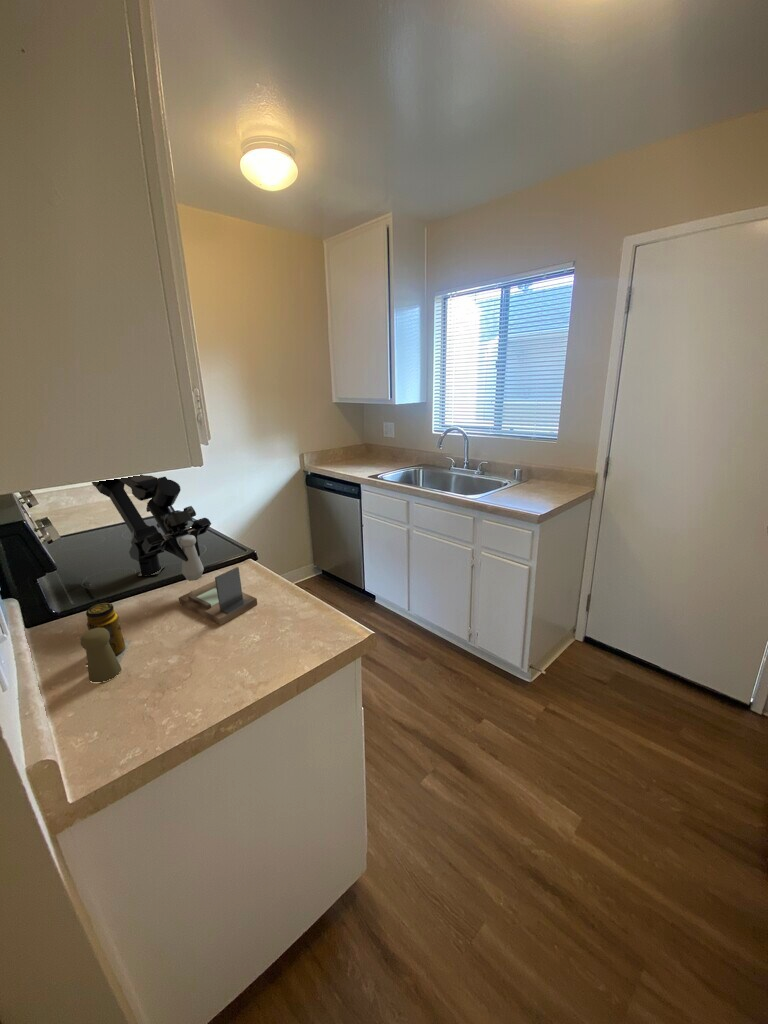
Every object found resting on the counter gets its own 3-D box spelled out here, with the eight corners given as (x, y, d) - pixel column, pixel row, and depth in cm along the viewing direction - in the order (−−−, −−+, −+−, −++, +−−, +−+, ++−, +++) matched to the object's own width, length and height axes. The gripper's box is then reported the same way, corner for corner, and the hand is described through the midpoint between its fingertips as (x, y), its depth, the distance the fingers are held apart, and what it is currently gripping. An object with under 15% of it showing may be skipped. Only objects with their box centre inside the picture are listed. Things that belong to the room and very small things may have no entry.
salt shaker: (202, 581, 119) (195, 539, 114) (181, 583, 118) (173, 541, 113) (206, 571, 124) (199, 531, 120) (186, 573, 123) (178, 533, 119)
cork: (86, 673, 91) (73, 631, 87) (117, 660, 95) (106, 620, 91) (92, 688, 87) (79, 644, 83) (124, 673, 91) (113, 631, 87)
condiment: (131, 640, 102) (121, 598, 98) (120, 663, 94) (108, 618, 90) (98, 645, 100) (86, 602, 96) (84, 668, 92) (70, 623, 88)
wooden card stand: (179, 603, 117) (177, 593, 116) (216, 586, 127) (214, 576, 126) (220, 625, 107) (219, 614, 106) (257, 604, 117) (256, 594, 116)
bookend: (220, 610, 110) (214, 577, 107) (241, 598, 116) (237, 567, 113) (228, 614, 109) (222, 580, 105) (249, 602, 114) (245, 570, 111)
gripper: (138, 508, 108) (169, 557, 106) (202, 491, 122) (231, 533, 120) (129, 530, 115) (158, 576, 112) (191, 511, 129) (218, 552, 127)
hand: (193, 558), depth 118 cm, fingers closed on salt shaker, 3 cm apart
